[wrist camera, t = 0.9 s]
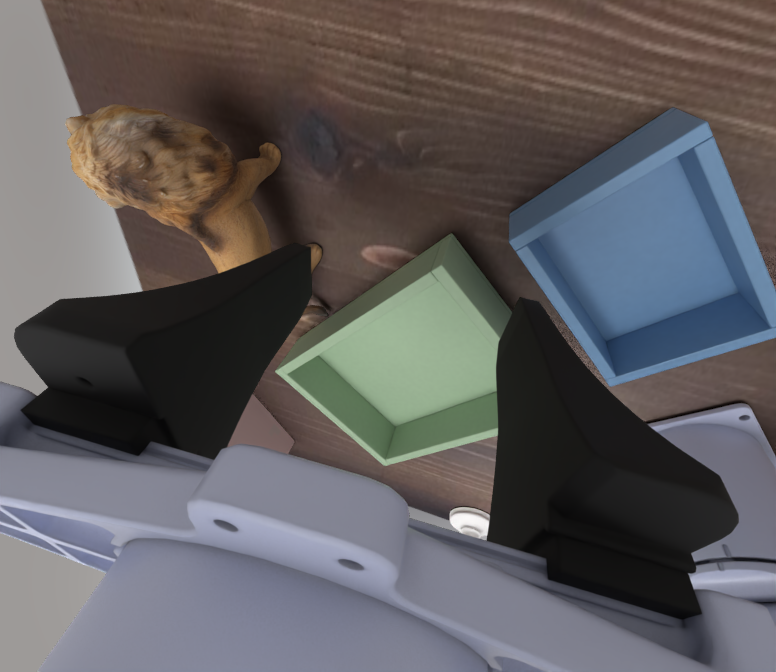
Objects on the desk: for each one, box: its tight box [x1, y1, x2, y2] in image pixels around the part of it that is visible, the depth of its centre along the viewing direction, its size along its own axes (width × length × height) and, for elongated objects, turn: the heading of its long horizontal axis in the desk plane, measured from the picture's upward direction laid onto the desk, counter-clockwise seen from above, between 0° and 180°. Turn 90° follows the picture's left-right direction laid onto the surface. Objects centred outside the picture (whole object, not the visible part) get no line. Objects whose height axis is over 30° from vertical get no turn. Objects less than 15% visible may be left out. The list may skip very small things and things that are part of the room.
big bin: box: [275, 233, 512, 466], centre depth 26 cm, size 15×12×4 cm
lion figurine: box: [65, 104, 328, 316], centre depth 20 cm, size 15×5×9 cm, turn 24°
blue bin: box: [509, 107, 776, 387], centre depth 18 cm, size 10×8×4 cm
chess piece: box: [450, 507, 490, 538], centre depth 37 cm, size 5×5×10 cm
